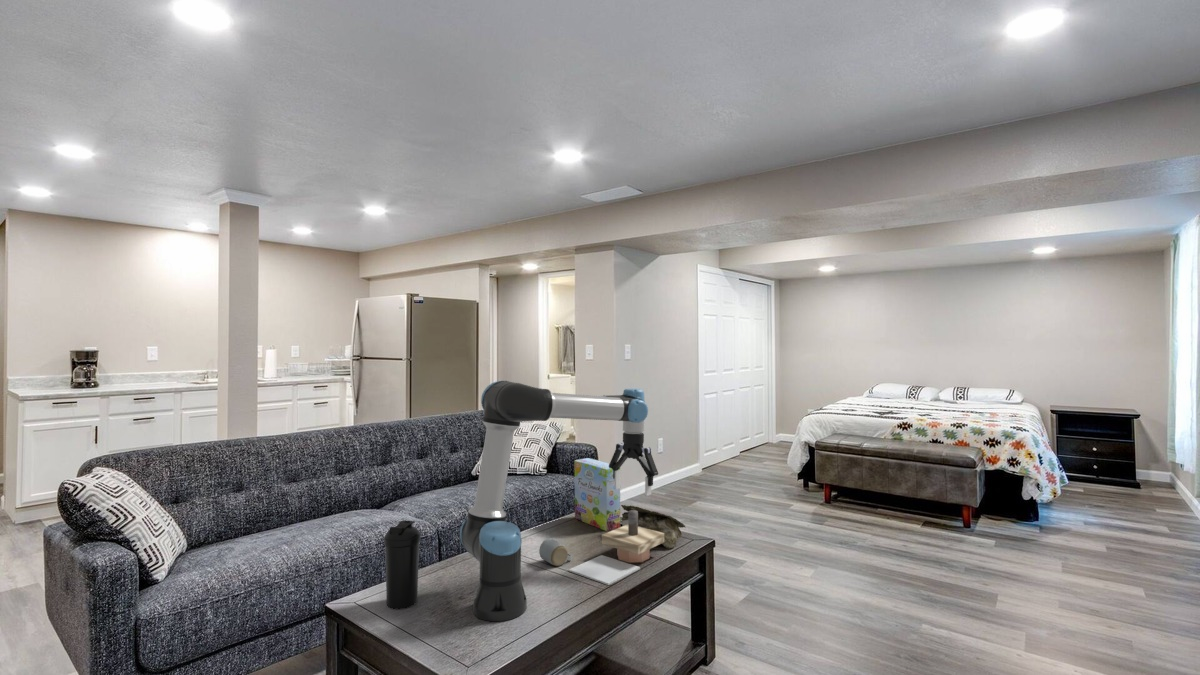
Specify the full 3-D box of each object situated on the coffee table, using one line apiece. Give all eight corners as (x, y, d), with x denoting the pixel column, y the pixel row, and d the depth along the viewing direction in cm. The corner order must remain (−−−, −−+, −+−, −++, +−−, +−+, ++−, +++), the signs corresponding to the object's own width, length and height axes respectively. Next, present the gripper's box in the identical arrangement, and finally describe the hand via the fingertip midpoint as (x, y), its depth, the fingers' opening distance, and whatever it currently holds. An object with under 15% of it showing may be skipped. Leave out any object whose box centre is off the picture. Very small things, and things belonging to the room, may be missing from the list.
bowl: (636, 564, 196) (636, 544, 196) (611, 557, 203) (611, 537, 203) (654, 555, 205) (654, 536, 205) (630, 548, 212) (630, 529, 212)
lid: (637, 554, 193) (638, 521, 193) (601, 543, 203) (601, 512, 203) (664, 542, 205) (664, 510, 205) (628, 532, 215) (628, 502, 215)
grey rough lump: (621, 543, 231) (603, 521, 224) (636, 516, 238) (618, 494, 231) (677, 559, 211) (659, 536, 204) (691, 529, 218) (674, 506, 211)
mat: (608, 585, 180) (608, 583, 180) (568, 571, 191) (568, 569, 191) (640, 568, 193) (640, 567, 193) (601, 556, 204) (601, 555, 204)
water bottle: (426, 596, 171) (427, 519, 172) (408, 612, 161) (408, 530, 162) (396, 593, 173) (396, 517, 174) (376, 609, 163) (376, 528, 164)
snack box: (572, 519, 247) (573, 459, 247) (588, 515, 252) (588, 457, 252) (605, 532, 230) (606, 468, 230) (621, 527, 236) (621, 465, 236)
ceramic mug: (551, 569, 192) (552, 546, 192) (538, 562, 199) (538, 539, 199) (577, 562, 199) (577, 540, 199) (563, 555, 205) (564, 534, 205)
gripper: (668, 434, 199) (667, 495, 199) (612, 427, 215) (611, 484, 215) (656, 437, 193) (655, 500, 193) (599, 429, 210) (599, 487, 209)
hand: (632, 491), depth 204 cm, fingers open, 13 cm apart
